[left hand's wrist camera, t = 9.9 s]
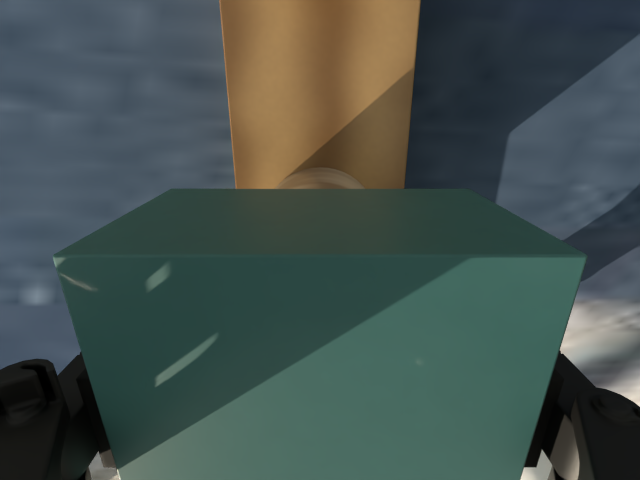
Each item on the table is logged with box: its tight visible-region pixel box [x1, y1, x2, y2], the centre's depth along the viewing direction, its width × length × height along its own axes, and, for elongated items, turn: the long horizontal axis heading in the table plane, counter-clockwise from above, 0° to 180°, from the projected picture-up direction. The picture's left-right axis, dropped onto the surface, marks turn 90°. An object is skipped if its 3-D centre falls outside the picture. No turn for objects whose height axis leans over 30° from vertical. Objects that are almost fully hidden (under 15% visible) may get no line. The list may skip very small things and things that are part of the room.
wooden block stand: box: [219, 0, 421, 189], centre depth 14 cm, size 10×26×14 cm, turn 0°
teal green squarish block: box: [53, 189, 587, 480], centre depth 10 cm, size 9×9×5 cm
